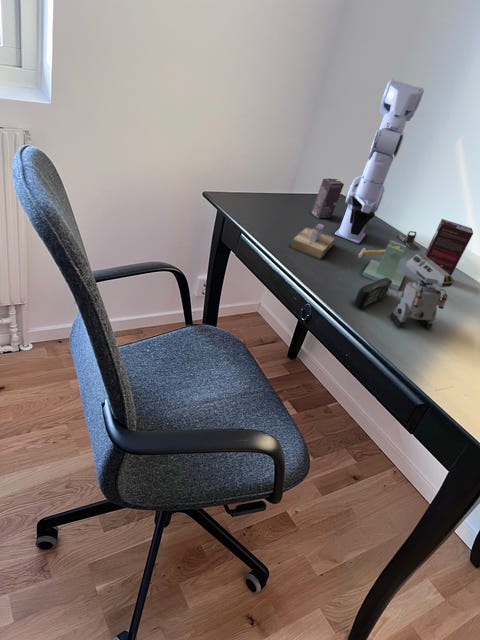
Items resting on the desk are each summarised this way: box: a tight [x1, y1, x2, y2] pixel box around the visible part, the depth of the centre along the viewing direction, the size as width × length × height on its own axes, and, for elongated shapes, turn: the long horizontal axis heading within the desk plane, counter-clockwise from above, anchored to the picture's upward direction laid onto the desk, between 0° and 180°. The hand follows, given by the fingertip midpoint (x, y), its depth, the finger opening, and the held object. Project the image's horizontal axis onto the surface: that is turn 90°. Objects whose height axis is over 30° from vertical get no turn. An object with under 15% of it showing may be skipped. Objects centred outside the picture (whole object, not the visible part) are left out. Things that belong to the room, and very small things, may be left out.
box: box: [311, 178, 345, 219], centre depth 153 cm, size 6×4×12 cm
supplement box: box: [424, 218, 474, 276], centre depth 131 cm, size 9×5×16 cm, turn 71°
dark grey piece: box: [353, 278, 392, 309], centre depth 114 cm, size 5×3×15 cm
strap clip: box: [398, 230, 419, 250], centre depth 152 cm, size 8×3×4 cm, turn 15°
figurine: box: [387, 253, 455, 329], centre depth 107 cm, size 9×12×15 cm
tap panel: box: [290, 226, 336, 260], centre depth 133 cm, size 12×10×3 cm
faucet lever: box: [357, 246, 401, 259], centre depth 126 cm, size 10×6×2 cm, turn 63°
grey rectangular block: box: [309, 223, 325, 242], centre depth 131 cm, size 6×2×4 cm, turn 154°
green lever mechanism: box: [362, 239, 407, 291], centre depth 125 cm, size 10×10×9 cm
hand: (353, 228), depth 126 cm, fingers open, 7 cm apart
